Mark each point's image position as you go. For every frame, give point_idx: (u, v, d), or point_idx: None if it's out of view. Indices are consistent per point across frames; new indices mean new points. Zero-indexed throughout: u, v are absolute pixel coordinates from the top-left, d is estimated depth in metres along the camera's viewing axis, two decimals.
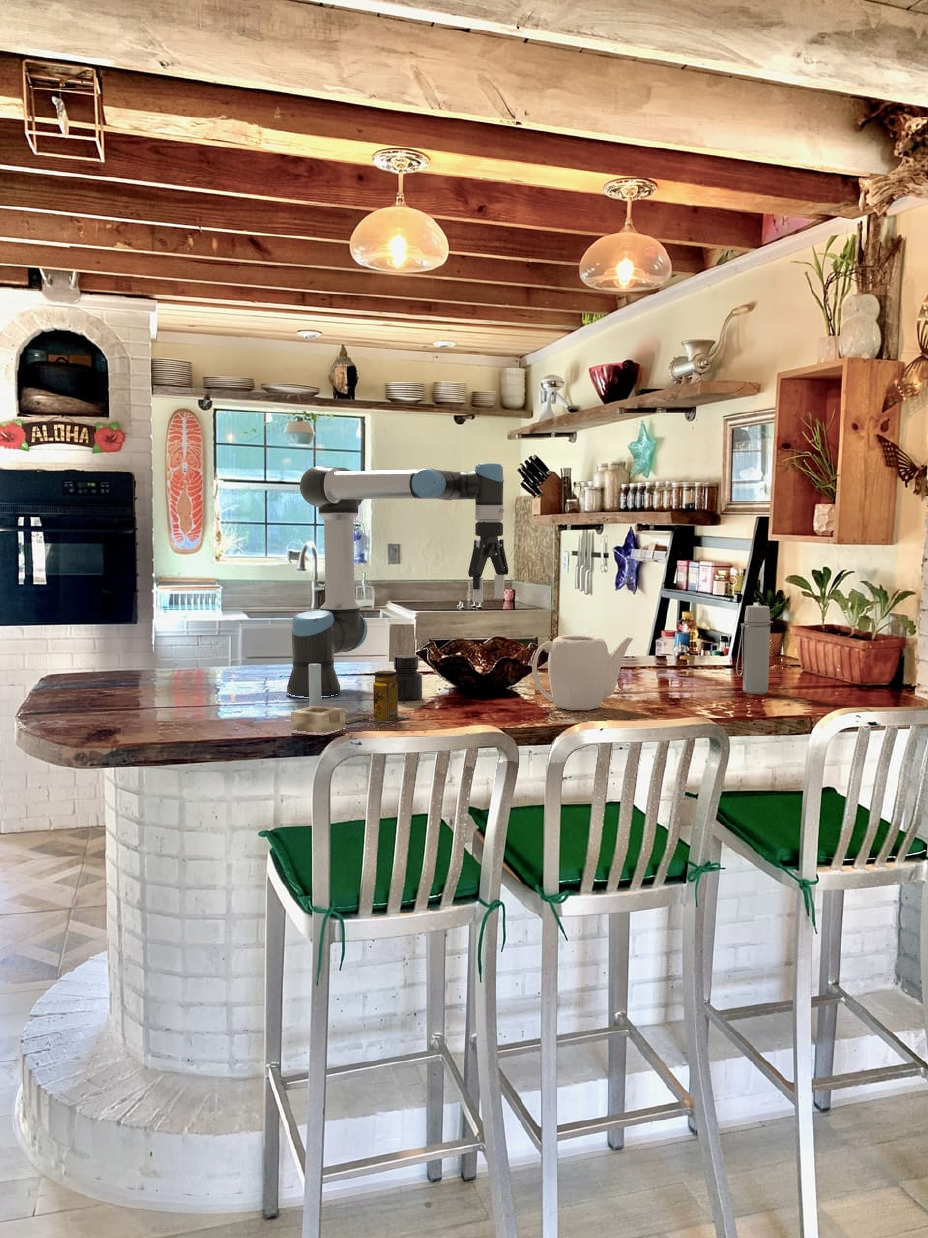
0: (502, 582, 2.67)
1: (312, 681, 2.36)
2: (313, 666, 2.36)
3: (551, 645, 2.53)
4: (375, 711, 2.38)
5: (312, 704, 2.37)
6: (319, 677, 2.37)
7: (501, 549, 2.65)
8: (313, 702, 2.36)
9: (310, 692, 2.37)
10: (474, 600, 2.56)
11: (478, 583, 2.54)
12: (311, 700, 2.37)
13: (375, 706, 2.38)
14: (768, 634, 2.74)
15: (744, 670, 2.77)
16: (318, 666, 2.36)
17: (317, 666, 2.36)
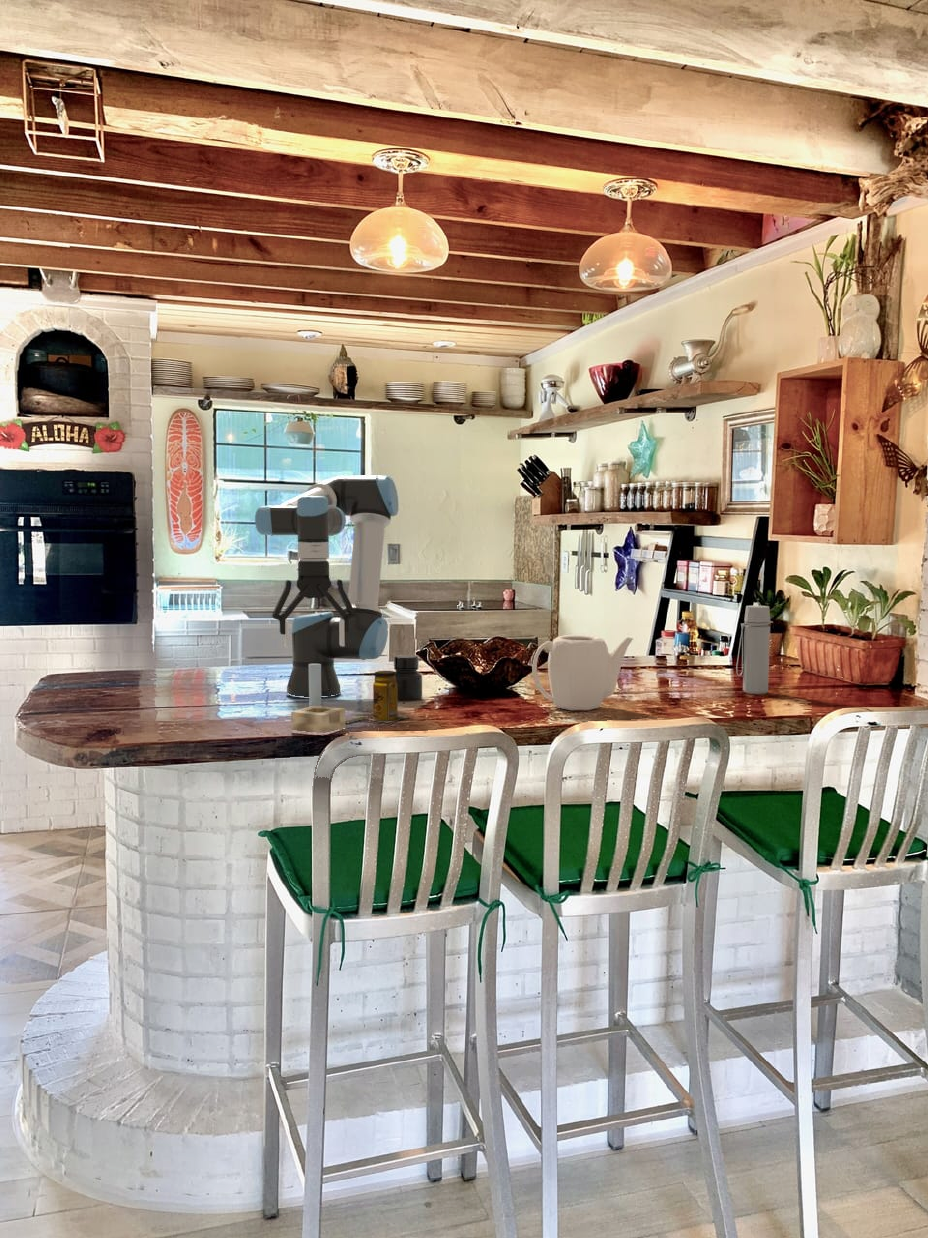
0: (341, 628, 2.37)
1: (312, 681, 2.36)
2: (313, 666, 2.36)
3: (551, 645, 2.53)
4: (375, 711, 2.38)
5: (312, 704, 2.37)
6: (319, 677, 2.37)
7: (339, 591, 2.36)
8: (313, 702, 2.36)
9: (310, 692, 2.37)
10: (284, 646, 2.35)
11: (282, 627, 2.33)
12: (311, 700, 2.37)
13: (375, 706, 2.38)
14: (768, 634, 2.74)
15: (744, 670, 2.77)
16: (318, 666, 2.36)
17: (317, 666, 2.36)
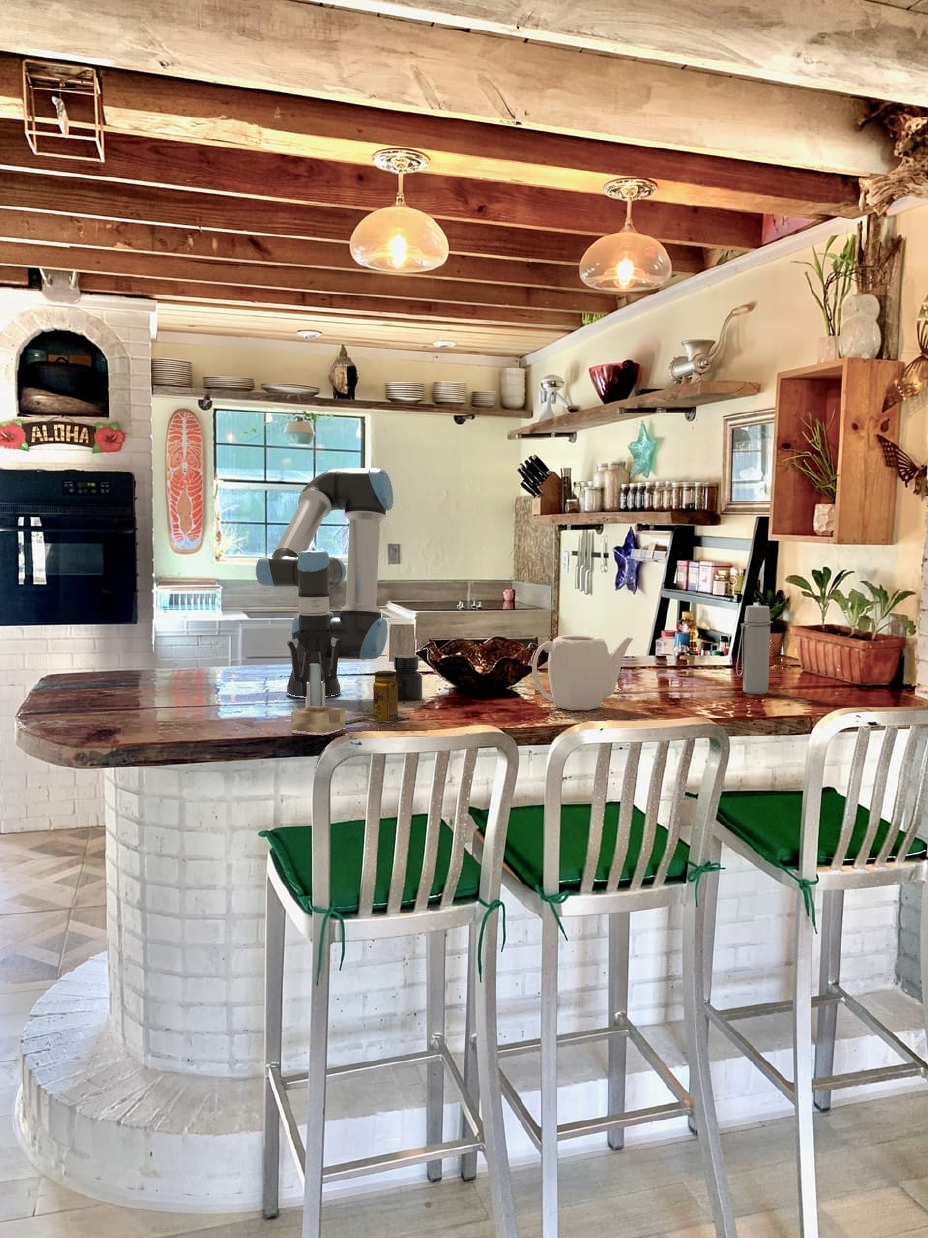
0: (321, 691, 2.37)
1: (312, 681, 2.36)
2: (313, 666, 2.36)
3: (551, 645, 2.53)
4: (375, 711, 2.38)
5: (312, 704, 2.37)
6: (319, 677, 2.37)
7: (333, 649, 2.37)
8: (313, 702, 2.36)
9: (310, 692, 2.37)
10: (306, 707, 2.38)
11: (304, 689, 2.36)
12: (311, 700, 2.37)
13: (375, 706, 2.38)
14: (768, 634, 2.74)
15: (744, 670, 2.77)
16: (318, 666, 2.36)
17: (317, 666, 2.36)
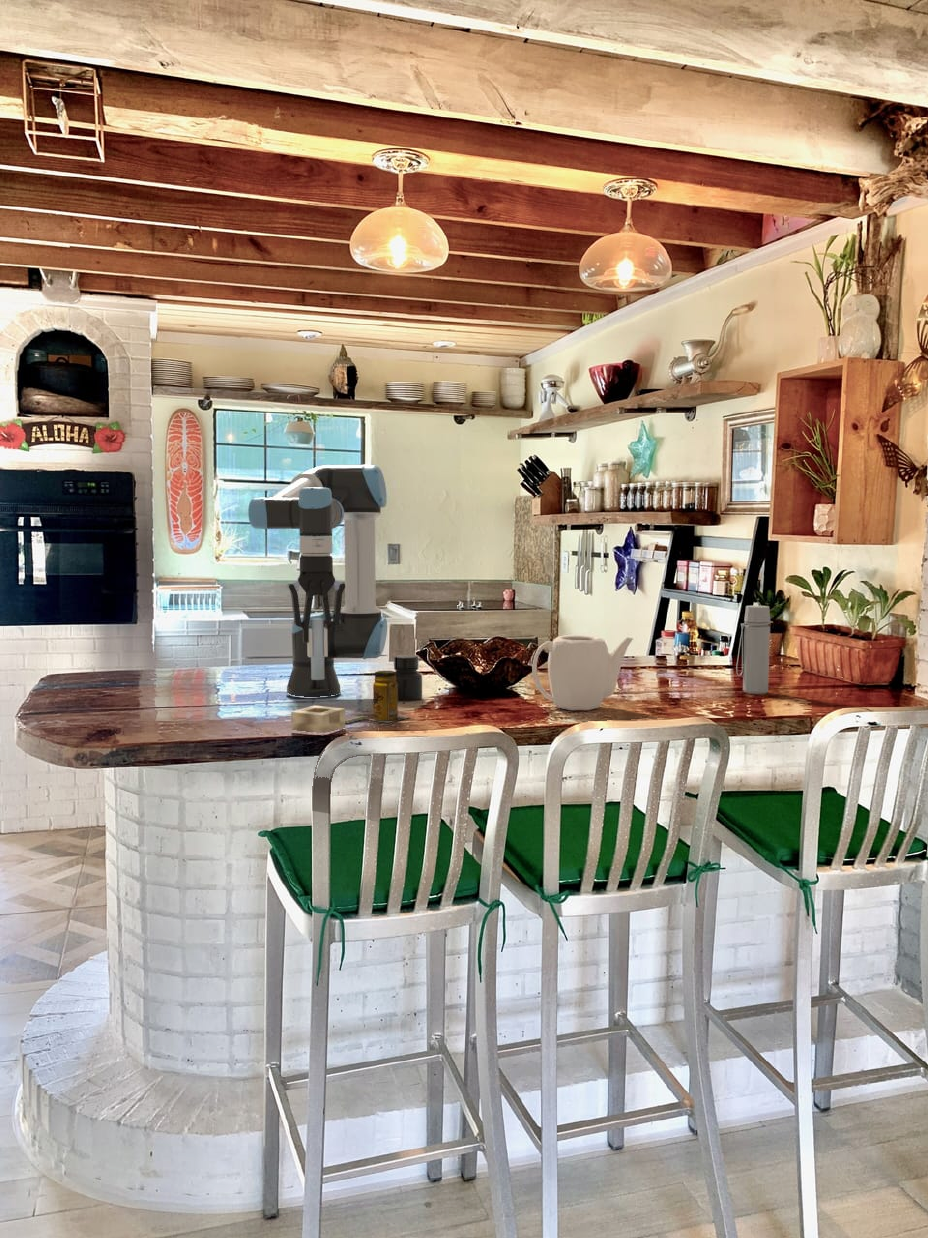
0: (324, 637, 2.23)
1: (314, 637, 2.22)
2: (315, 620, 2.22)
3: (551, 645, 2.53)
4: (375, 711, 2.38)
5: (314, 661, 2.23)
6: (322, 632, 2.23)
7: (337, 593, 2.23)
8: (315, 659, 2.23)
9: None
10: (307, 654, 2.24)
11: (305, 635, 2.22)
12: (313, 657, 2.23)
13: (375, 706, 2.38)
14: (768, 634, 2.74)
15: (744, 670, 2.77)
16: (320, 621, 2.22)
17: (319, 620, 2.22)
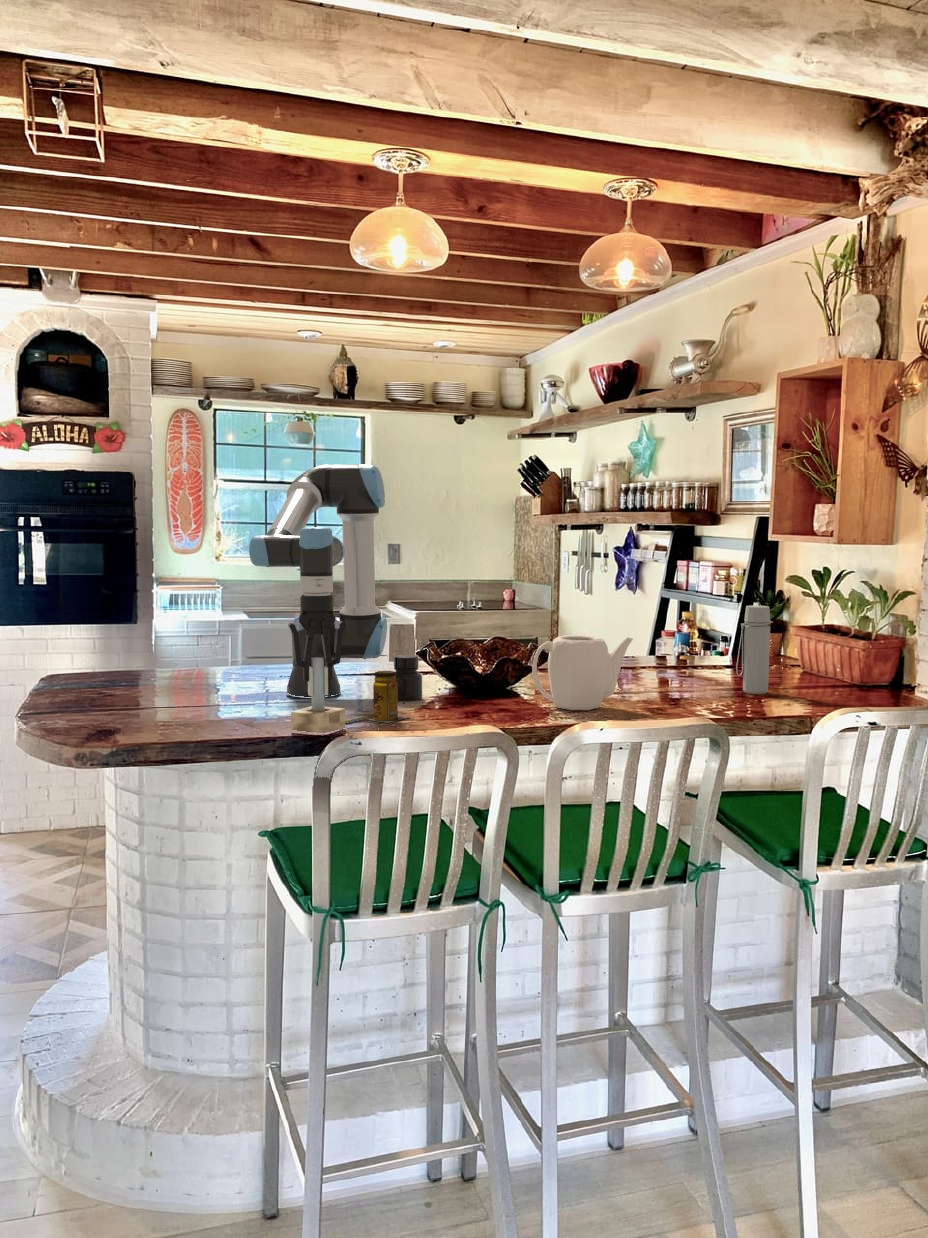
0: (324, 676, 2.24)
1: (314, 676, 2.23)
2: (316, 660, 2.23)
3: (551, 645, 2.53)
4: (375, 711, 2.38)
5: (315, 700, 2.24)
6: (322, 672, 2.24)
7: (337, 632, 2.24)
8: (315, 698, 2.23)
9: (313, 687, 2.24)
10: (308, 693, 2.25)
11: (306, 674, 2.23)
12: (314, 696, 2.24)
13: (375, 706, 2.38)
14: (768, 634, 2.74)
15: (744, 670, 2.77)
16: (321, 660, 2.23)
17: (320, 660, 2.23)
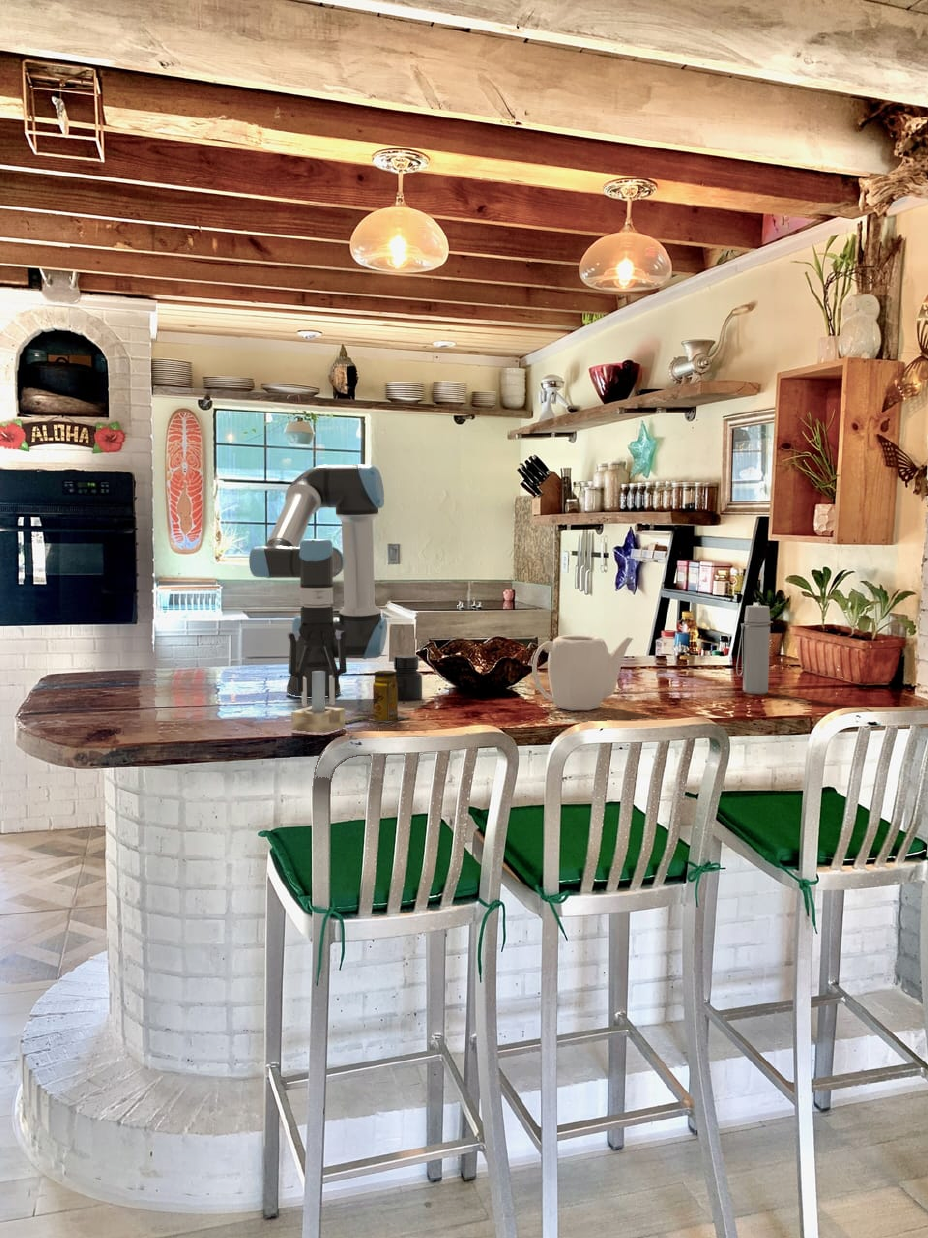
0: (331, 685, 2.25)
1: (315, 690, 2.24)
2: (317, 674, 2.23)
3: (551, 645, 2.53)
4: (375, 711, 2.38)
5: None
6: (323, 685, 2.24)
7: (339, 642, 2.25)
8: None
9: (313, 701, 2.24)
10: (302, 703, 2.25)
11: (300, 685, 2.23)
12: (314, 710, 2.24)
13: (375, 706, 2.38)
14: (768, 634, 2.74)
15: (744, 670, 2.77)
16: (322, 674, 2.24)
17: (321, 674, 2.23)
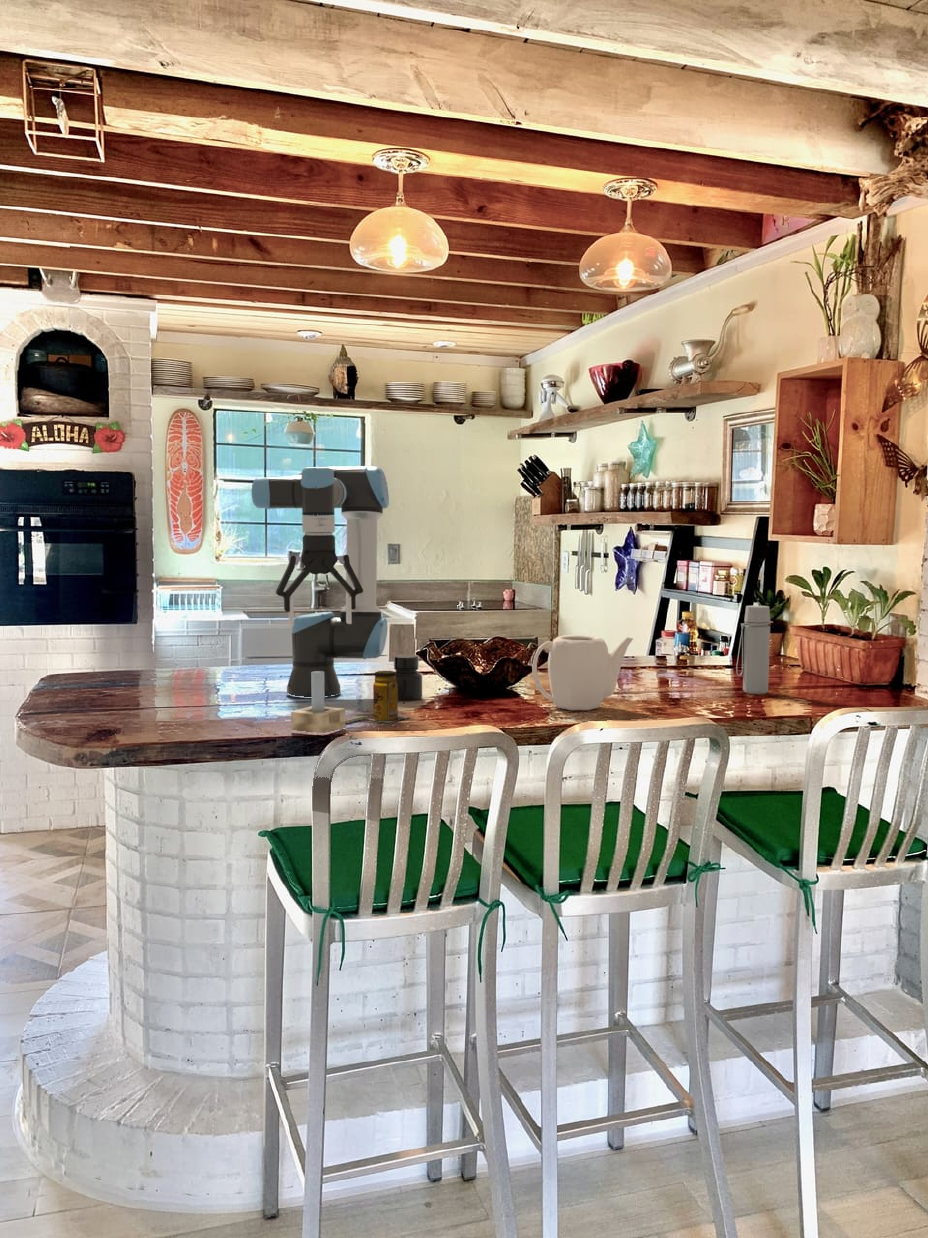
0: (348, 605, 2.28)
1: (314, 690, 2.23)
2: (316, 674, 2.23)
3: (551, 645, 2.53)
4: (375, 711, 2.38)
5: None
6: (322, 686, 2.24)
7: (345, 566, 2.27)
8: None
9: (313, 701, 2.24)
10: (289, 623, 2.26)
11: (286, 605, 2.24)
12: (314, 710, 2.24)
13: (375, 706, 2.38)
14: (768, 634, 2.74)
15: (744, 670, 2.77)
16: (321, 674, 2.24)
17: (320, 674, 2.23)
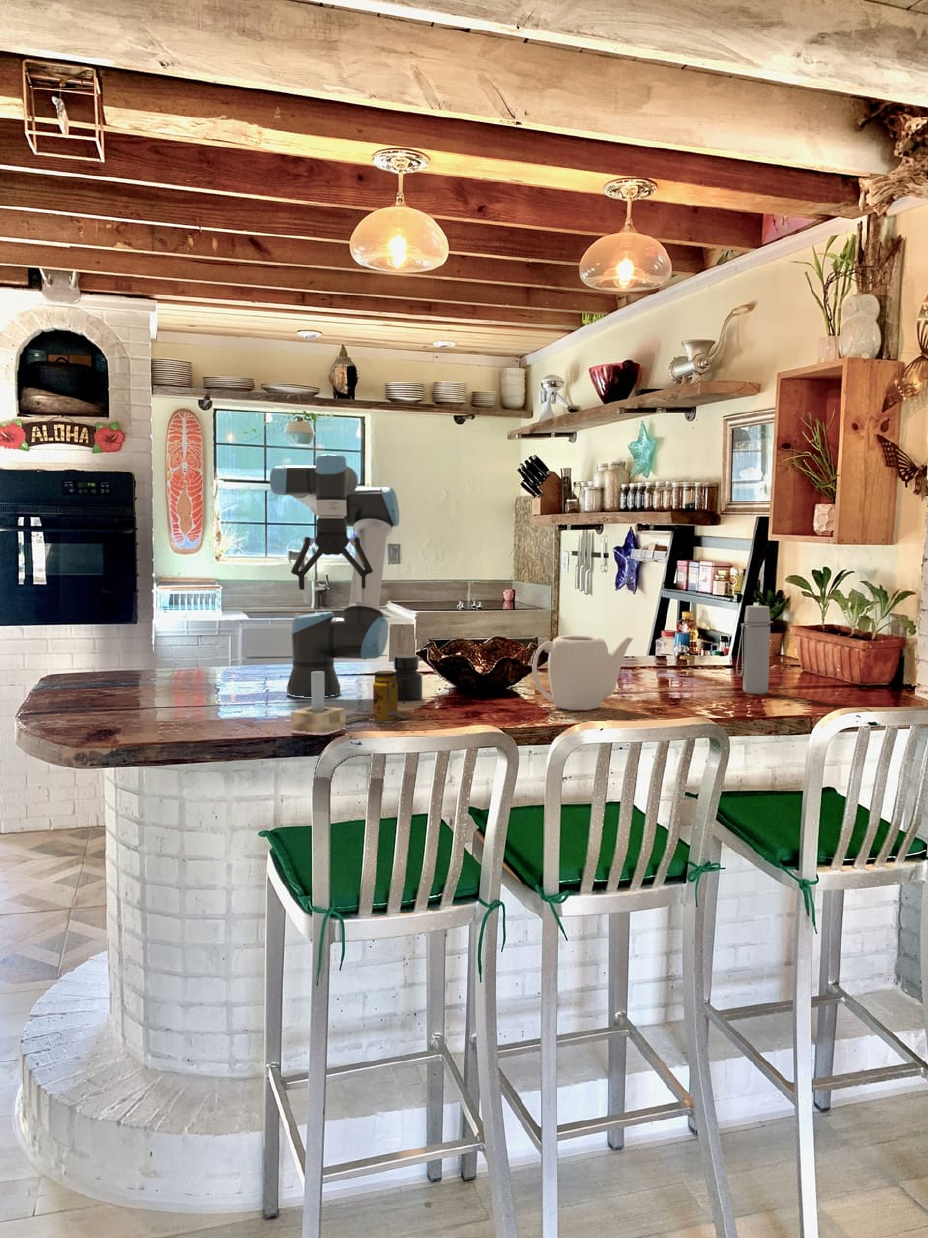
0: (358, 584, 2.43)
1: (314, 690, 2.23)
2: (316, 674, 2.23)
3: (551, 645, 2.53)
4: (375, 711, 2.38)
5: None
6: (322, 686, 2.24)
7: (356, 548, 2.42)
8: None
9: (313, 701, 2.24)
10: (303, 601, 2.41)
11: (301, 583, 2.39)
12: (314, 710, 2.24)
13: (375, 706, 2.38)
14: (768, 634, 2.74)
15: (744, 670, 2.77)
16: (321, 674, 2.24)
17: (320, 674, 2.23)
